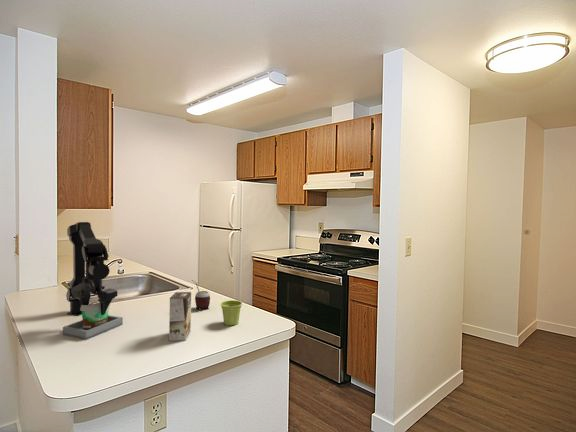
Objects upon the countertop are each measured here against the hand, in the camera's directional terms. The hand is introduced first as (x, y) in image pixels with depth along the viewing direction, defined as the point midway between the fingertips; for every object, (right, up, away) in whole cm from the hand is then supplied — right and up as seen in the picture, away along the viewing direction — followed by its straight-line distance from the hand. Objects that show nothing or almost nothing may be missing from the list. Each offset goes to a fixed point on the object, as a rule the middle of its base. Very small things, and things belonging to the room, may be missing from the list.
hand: (94, 313), depth 138 cm
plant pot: (+53, -8, +11) cm, 54 cm away
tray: (0, -7, 0) cm, 6 cm away
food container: (+1, -6, +1) cm, 6 cm away
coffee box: (+35, -8, -4) cm, 37 cm away
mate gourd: (+36, -6, +29) cm, 46 cm away
